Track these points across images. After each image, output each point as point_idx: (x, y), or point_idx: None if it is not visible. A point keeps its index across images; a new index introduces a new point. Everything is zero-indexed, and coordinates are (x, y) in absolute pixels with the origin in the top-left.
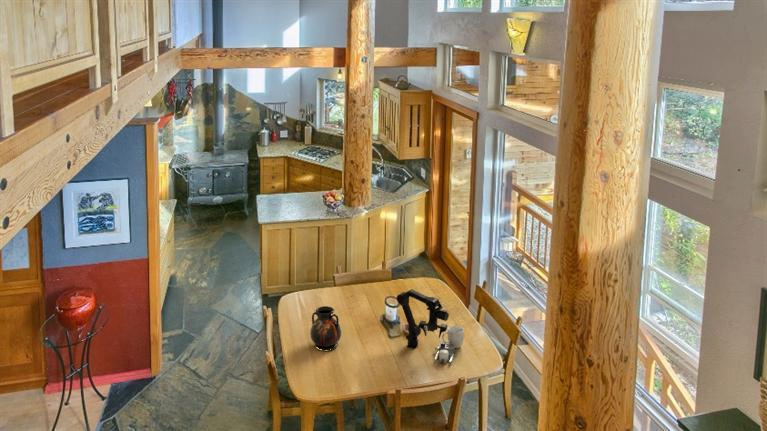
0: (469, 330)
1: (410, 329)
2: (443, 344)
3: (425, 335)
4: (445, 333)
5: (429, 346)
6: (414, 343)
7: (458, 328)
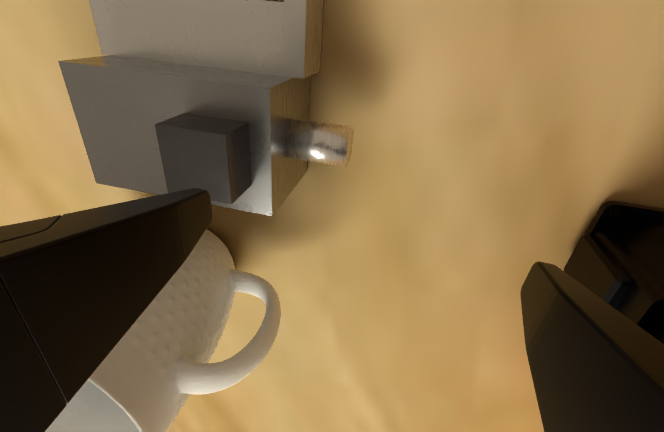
0: (180, 409)
1: None
2: (182, 125)
3: (566, 276)
4: (208, 364)
5: (425, 245)
6: (651, 252)
7: (86, 421)
